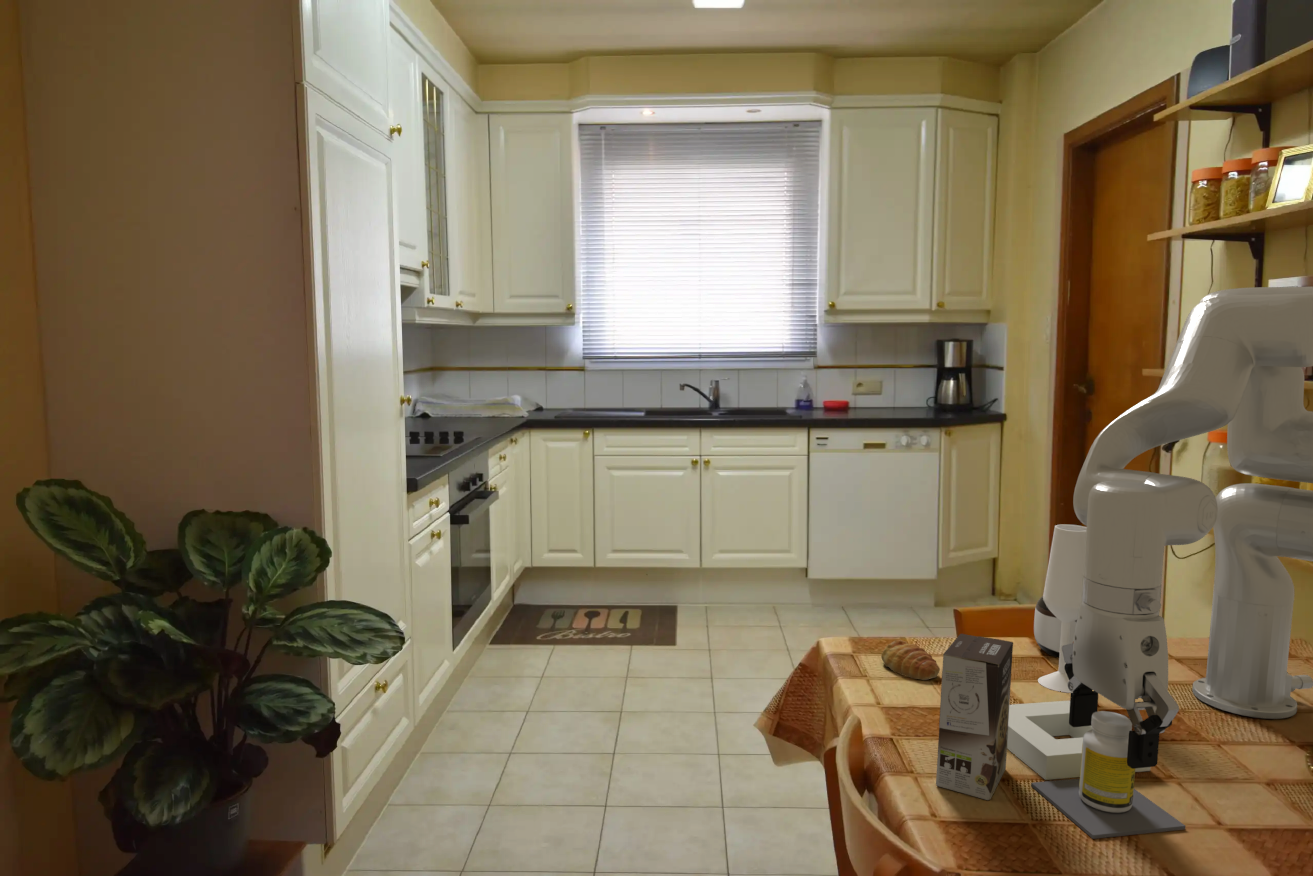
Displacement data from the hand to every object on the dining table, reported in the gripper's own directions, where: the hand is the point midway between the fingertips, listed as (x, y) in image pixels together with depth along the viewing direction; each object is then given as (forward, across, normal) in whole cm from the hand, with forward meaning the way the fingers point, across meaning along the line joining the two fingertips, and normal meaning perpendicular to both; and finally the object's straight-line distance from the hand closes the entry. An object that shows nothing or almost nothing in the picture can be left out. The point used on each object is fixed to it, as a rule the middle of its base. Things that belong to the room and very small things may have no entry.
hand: (1110, 744), depth 99 cm
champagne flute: (+8, +32, -17) cm, 37 cm away
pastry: (+8, +42, +3) cm, 42 cm away
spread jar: (+8, +46, -27) cm, 54 cm away
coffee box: (+7, +8, +12) cm, 16 cm away
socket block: (+7, +13, -4) cm, 16 cm away
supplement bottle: (+7, 0, 0) cm, 7 cm away
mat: (+7, 0, 0) cm, 7 cm away
